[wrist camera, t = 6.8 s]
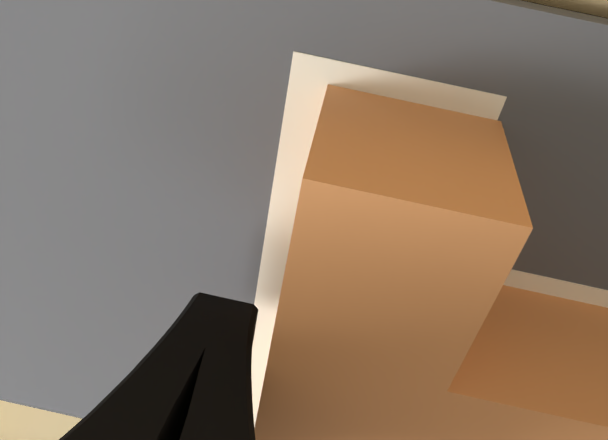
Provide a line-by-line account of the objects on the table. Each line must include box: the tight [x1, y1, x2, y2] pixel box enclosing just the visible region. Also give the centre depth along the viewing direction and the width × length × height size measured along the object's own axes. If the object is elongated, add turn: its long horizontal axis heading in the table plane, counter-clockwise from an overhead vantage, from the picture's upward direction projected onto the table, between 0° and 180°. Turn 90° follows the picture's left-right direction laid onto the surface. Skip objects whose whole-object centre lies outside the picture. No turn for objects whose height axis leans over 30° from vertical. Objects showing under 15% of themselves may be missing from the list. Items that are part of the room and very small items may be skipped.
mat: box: [0, 0, 608, 428], centre depth 13 cm, size 31×14×1 cm, turn 81°
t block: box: [254, 84, 608, 440], centre depth 11 cm, size 10×10×3 cm
